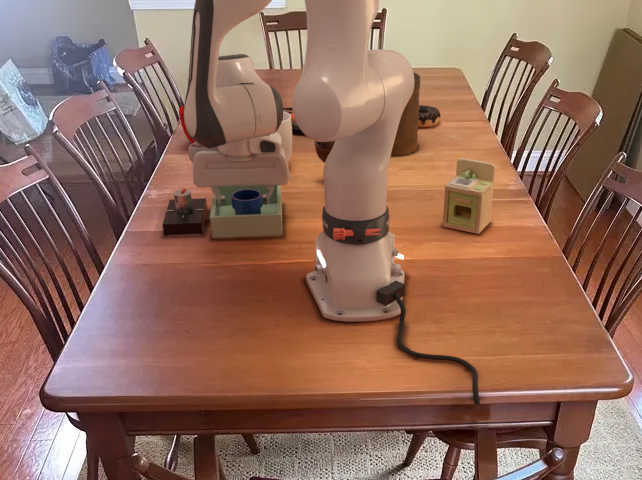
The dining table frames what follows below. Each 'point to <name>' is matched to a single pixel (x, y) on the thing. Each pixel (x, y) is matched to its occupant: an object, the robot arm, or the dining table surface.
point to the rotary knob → (183, 201)
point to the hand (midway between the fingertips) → (244, 204)
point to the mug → (286, 134)
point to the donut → (428, 116)
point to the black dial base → (185, 219)
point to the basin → (246, 225)
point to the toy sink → (469, 196)
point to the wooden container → (408, 124)
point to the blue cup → (247, 202)
